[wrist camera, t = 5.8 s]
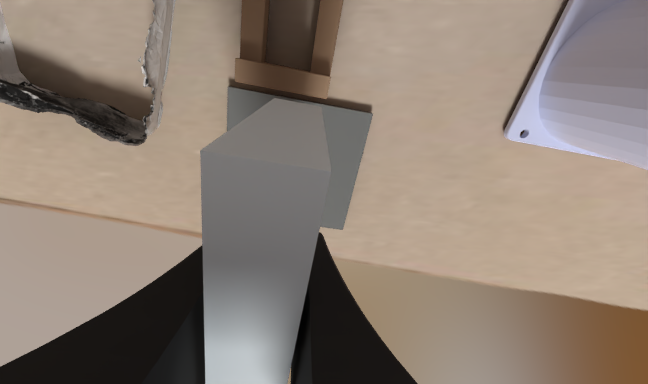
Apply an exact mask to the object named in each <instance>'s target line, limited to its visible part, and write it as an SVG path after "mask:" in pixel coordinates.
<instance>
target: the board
mask: <svg viewBox="0 0 648 384" xmlns="http://www.w3.org/2000/svg"><path fill="white" fill-rule="evenodd" d="M200 154H201V200H202V247H203V293H204V339H205V384H287V382H288V378H289V373H290V368H291V363H292V358H293V354H294V349H295V344H296V339H297V334H298V330H299V325H300V320H301V315H302V310H303V306H304V301H305V296H306V291H307V286H308V282H309V277H310V272H311V267H312V262H313V258H314V253H315V248H316V243H317V238H318V234H319V229H320V224H321V219H322V214H323V210H324V205H325V200H326V195H327V190H328V186H329V181H330V176H331V166H330V159H329V153H328V147H327V140H326V134H325V128H324V121H323V115H322V109H321V107H320V106H315V105H310V104H304V103H299V102H294V101H288V100H283V99H278V98H274V99H272V100H271V101H270V102H268V103H267V104H265V105H264V106H262V107H261V108H260V109H258V110H257V111H255V112H254V113H253V114H251V115H250V116H248V117H247V118H246V119H244V120H243V121H241V122H240V123H238V124H237V125H236V126H234V127H233V128H231V129H230V130H229V131H227V132H226V133H224V134H223V135H222V136H220V137H219V138H217V139H216V140H215V141H213V142H212V143H210V144H209V145H207V146H206V147H205V148H203V149H202V150H200Z"/></svg>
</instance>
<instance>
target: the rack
mask: <svg viewBox="0 0 648 384" xmlns="http://www.w3.org/2000/svg"><path fill="white" fill-rule="evenodd" d="M342 5H343V0H320V7H319V14H318V21H317V28H316V35H315V41H314V48H313V55H312V62H311V69H310V71H306V70H301V69H296V68H291V67H286V66H281V65H276V64H271V63H266V48H267V35H268V21H269V7H270V0H242V17H241V47H240V58H235V82H239V83H244V84H250V85H255V86H260V87H265V88H271V89H276V90H281V91H286V92H292V93H297V94H302V95H307V96H313V97H318V98H323V99H327V95H328V89H329V84H330V78H331V77H330V73H331V67H332V61H333V56H334V50H335V45H336V39H337V33H338V28H339V22H340V16H341V11H342Z"/></svg>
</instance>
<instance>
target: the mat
mask: <svg viewBox="0 0 648 384" xmlns="http://www.w3.org/2000/svg"><path fill="white" fill-rule="evenodd" d="M274 98H278V99H283V100H288V101H294V102H299V103H304V104H310V105H315V106H320V107H321V109H322V115H323V121H324V128H325V134H326V140H327V147H328V153H329V159H330V166H331V176H330V181H329V186H328V190H327V195H326V200H325V205H324V210H323V214H322V219H321V224H320V227H326V228H333V229H340V230H343V227H344V223H345V219H346V215H347V212H348V208H349V204H350V200H351V196H352V192H353V189H354V185H355V181H356V177H357V173H358V169H359V166H360V162H361V158H362V154H363V150H364V146H365V143H366V139H367V135H368V131H369V127H370V123H371V120H372V116H373V114H372V113H370V112H365V111H359V110H354V109H349V108H344V107H338V106H333V105H328V104H322V103H317V102H312V101H306V100H301V99H296V98H290V97H285V96H280V95H275V94H269V93H264V92H259V91H253V90H248V89H243V88H237V87H232V86H229V87H228V102H227V131H229V130H230V129H231V128H233V127H234V126H236V125H237V124H238V123H240V122H241V121H243V120H244V119H246V118H247V117H248V116H250V115H251V114H253V113H254V112H255V111H257V110H258V109H260V108H261V107H262V106H264V105H265V104H267V103H268V102H270V101H271V100H272V99H274Z"/></svg>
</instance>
